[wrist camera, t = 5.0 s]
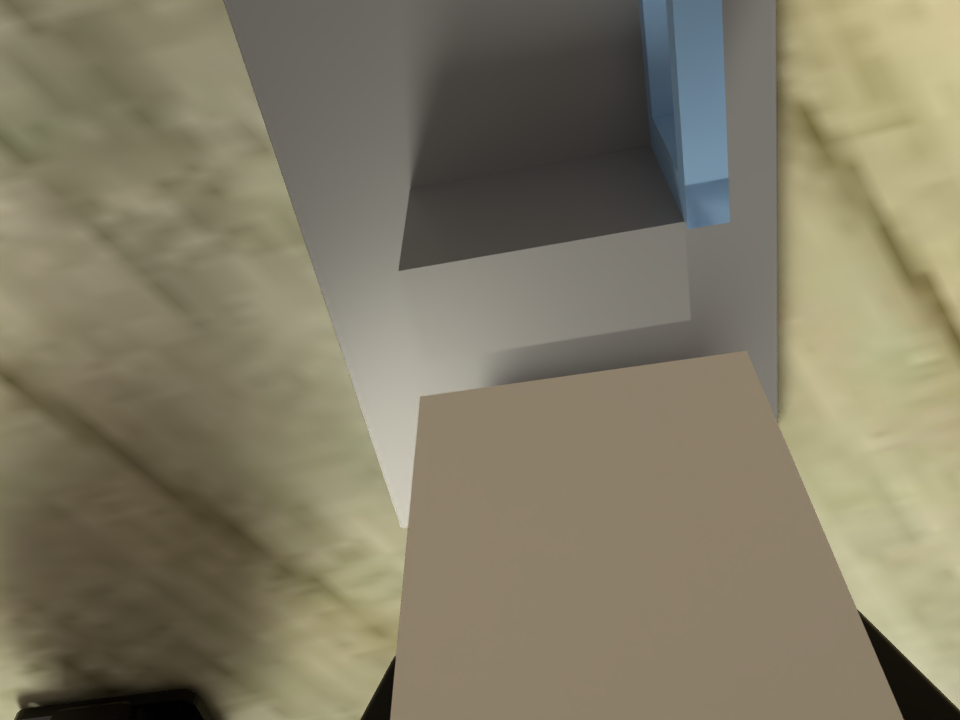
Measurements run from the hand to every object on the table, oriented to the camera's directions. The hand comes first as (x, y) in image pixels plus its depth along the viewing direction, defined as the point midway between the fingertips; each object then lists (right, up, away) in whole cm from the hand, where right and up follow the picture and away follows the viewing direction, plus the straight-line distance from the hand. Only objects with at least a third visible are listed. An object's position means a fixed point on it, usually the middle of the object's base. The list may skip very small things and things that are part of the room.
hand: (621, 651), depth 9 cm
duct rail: (0, +7, +11) cm, 13 cm away
